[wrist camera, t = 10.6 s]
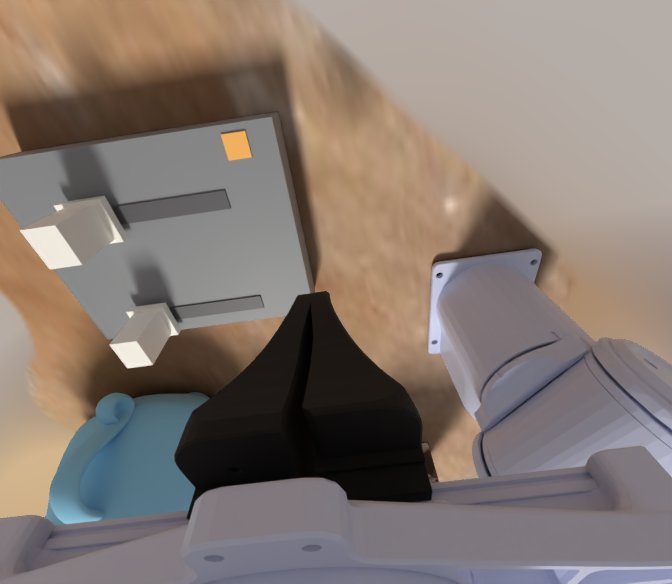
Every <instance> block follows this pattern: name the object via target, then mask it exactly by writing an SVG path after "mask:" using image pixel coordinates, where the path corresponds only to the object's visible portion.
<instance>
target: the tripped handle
mask: <svg viewBox="0 0 672 584" xmlns="http://www.w3.org/2000/svg"><path fill="white" fill-rule="evenodd" d="M54 207H55V209H56V210H57V212H55V213H53V214H51V215H49V216H47V217H45V218H43V219H41V220H39V221H37V222H35V223H33V224H31V225H29V226H27V227H25V228H23V229H22V230H20V231H21V233H22V234H23V235H24V237H25V238H26V239H27V241H28V242H29V243H30V244H31V246H32V247H33V248H34V250H35V251H36V252H37V253H38V255H39V256H40V257H41V259H42V260H43V261H44V262H45V264H46V265H47V266H48V268H49V269H57V268H64V267H71V266H78V265H83V264H84V263H86V262H87V261H88V260H89V259H91V258H92V257H93V256H94V255H96V254H97V253H98V252H99V251H101V250H102V249H103V248H105V247H106V246H107V245H108V244H112V243H119V242H124V241H125V240H126V239H128V236H127V235H126V233H125V231H124V229H123V228H122V226H121V224H120V222H119V220H118V219H117V217H116V215H115V213H114V212H113V210H112V208H111V206H110V205H109V203H108V201H107V199H106V197H105V196H99V197H93V198H86V199H79V200H73V201H66V202H60V203H58V204H56V205H54Z"/></svg>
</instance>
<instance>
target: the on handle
mask: <svg viewBox="0 0 672 584" xmlns="http://www.w3.org/2000/svg"><path fill="white" fill-rule="evenodd" d="M126 313H127V314H128V316H129V317H130V319H129V320H128V321H127V323H126V324H125V325H124V327H123V328H122V329H121V330H120V332H119V333H118V334H117V335H116V337H115V338H114V339H113V341H112V342H111V343H110V344H109V345H110V346H111V348H112V349H113V350H114V352H115V353H116V354H117V356H118V357H119V358H120V359H121V361H122V362H123V363H124V365H125V366H126V367H127V368H134V367H142V366H150V365H153V364H154V363H155V361H156V359H157V358H158V356H159V354H160V352H161V351H162V349H163V347H164V345H165V344H166V342H167V340H168V338H169V337H170V336H173V335H179V333H180V331H181V329H180V327H179V325H178V324H177V322H176V320H175V318H174V316H173V315H172V313H171V311H170V309H169V308H168V306H167V304H166V303H158V304H151V305H144V306H136V307H130V308H129V309H128V310H127V311H126Z"/></svg>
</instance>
